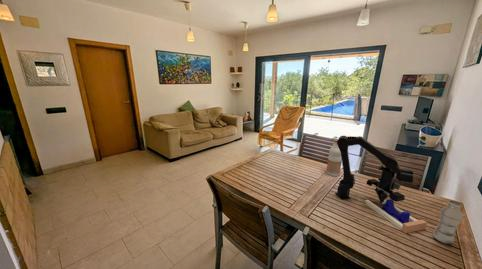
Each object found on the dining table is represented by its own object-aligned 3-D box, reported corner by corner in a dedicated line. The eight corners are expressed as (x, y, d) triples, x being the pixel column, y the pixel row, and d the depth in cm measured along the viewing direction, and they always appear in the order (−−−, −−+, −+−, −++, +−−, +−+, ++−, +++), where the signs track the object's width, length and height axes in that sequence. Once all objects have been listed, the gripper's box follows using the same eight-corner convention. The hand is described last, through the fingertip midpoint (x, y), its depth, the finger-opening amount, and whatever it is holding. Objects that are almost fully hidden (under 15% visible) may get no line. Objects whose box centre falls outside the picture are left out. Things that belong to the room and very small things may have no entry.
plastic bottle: (428, 235, 90) (439, 198, 85) (441, 234, 91) (453, 198, 85) (443, 246, 84) (456, 208, 78) (456, 245, 84) (471, 207, 79)
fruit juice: (331, 177, 145) (336, 142, 137) (323, 171, 154) (327, 138, 146) (342, 175, 147) (347, 141, 139) (333, 170, 155) (338, 137, 148)
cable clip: (381, 208, 109) (383, 199, 107) (389, 208, 109) (391, 199, 108) (399, 223, 98) (401, 213, 96) (407, 223, 98) (410, 213, 96)
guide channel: (405, 233, 91) (407, 226, 90) (364, 203, 114) (365, 197, 113) (425, 229, 94) (427, 222, 93) (381, 200, 116) (382, 194, 115)
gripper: (416, 185, 98) (409, 210, 103) (383, 169, 116) (378, 191, 120) (399, 187, 96) (392, 213, 100) (368, 171, 114) (363, 193, 118)
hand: (381, 202), depth 110 cm, fingers closed
